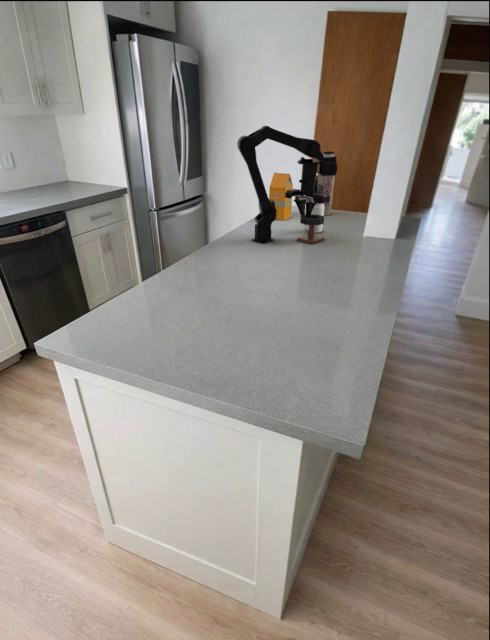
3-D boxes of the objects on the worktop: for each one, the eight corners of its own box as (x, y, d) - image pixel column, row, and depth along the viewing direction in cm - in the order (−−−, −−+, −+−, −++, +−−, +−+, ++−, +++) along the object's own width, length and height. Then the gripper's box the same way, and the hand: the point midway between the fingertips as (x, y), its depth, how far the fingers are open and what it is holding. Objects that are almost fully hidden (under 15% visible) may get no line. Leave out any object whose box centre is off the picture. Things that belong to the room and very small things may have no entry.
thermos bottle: (330, 215, 213) (338, 152, 197) (314, 215, 214) (320, 152, 198) (330, 212, 220) (337, 150, 204) (314, 211, 221) (320, 150, 205)
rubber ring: (295, 222, 173) (295, 217, 172) (310, 218, 179) (310, 213, 177) (313, 226, 167) (314, 220, 166) (328, 222, 173) (329, 216, 172)
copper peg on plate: (296, 240, 177) (298, 221, 173) (308, 236, 182) (310, 218, 177) (312, 244, 172) (314, 224, 168) (323, 240, 177) (326, 221, 173)
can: (311, 228, 193) (314, 200, 186) (324, 230, 189) (327, 202, 183) (304, 231, 188) (307, 203, 181) (318, 234, 185) (321, 204, 178)
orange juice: (283, 220, 206) (286, 175, 195) (268, 218, 210) (269, 173, 199) (290, 217, 212) (293, 172, 200) (275, 215, 216) (277, 171, 204)
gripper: (340, 176, 165) (335, 218, 174) (302, 172, 176) (299, 212, 185) (323, 180, 158) (319, 223, 167) (285, 175, 169) (283, 216, 178)
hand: (305, 218), depth 175 cm, fingers closed on rubber ring, 2 cm apart
